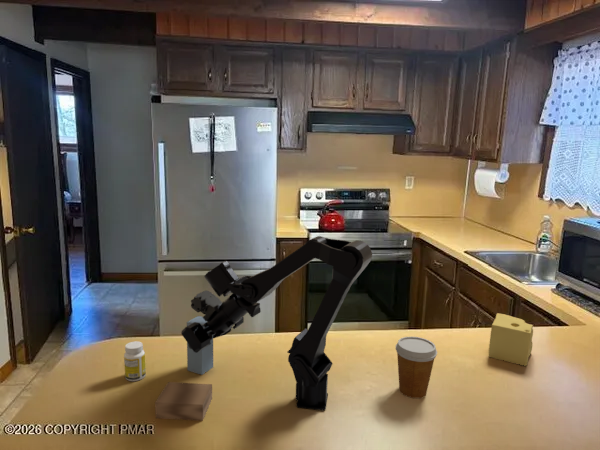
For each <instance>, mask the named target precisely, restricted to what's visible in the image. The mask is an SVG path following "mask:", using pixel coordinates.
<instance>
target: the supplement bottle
mask: <svg viewBox="0 0 600 450" xmlns="http://www.w3.org/2000/svg"><path fill="white" fill-rule="evenodd" d="M123 360H124V377H125V380H126V381H129V382H137V381H141V380H142V379H143V380H144V378H145V377H146V373H147V372H146V369H147V368H146V352H145V350H144V345H143V342H141V341H139V340H138V341H130V342H128V343H126V344H125V346H124V355H123Z"/></svg>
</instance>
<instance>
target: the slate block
mask: <svg viewBox="0 0 600 450" xmlns="http://www.w3.org/2000/svg"><path fill="white" fill-rule="evenodd" d="M203 317H204V316H200V315H198V316H196V317H194V318H191V319H190V320H188V321H186V327H187V326H189V325H190V324H192V323H194V322H197V323H200V324H201V326H202V327H203V328H205V327H204V325H203V324H204V323H206V322H207V321H205V320H204V319H203ZM206 328H207V327H206ZM210 332H211V331H210ZM210 332H208V334H209V333H210ZM210 343H211V344H210V345H208V346H207V347H205V348H204V349H202V350H201V351H199V352H197V353H196V352H194V351H193V350H192V349H190V348H189V347H188V345H189V344H188V343H187V342H186V353H187V354H186V355H187V356H186V359H187V360H186V362H187V363H186V365H187V372H191V373H195V374H198V375H202V376H203V375H204V374H205V372H206V373H207V372H208V371H210V370H211V369H213V368H214V338H213V336H212V340H210Z"/></svg>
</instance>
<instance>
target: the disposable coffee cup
mask: <svg viewBox="0 0 600 450" xmlns="http://www.w3.org/2000/svg"><path fill="white" fill-rule="evenodd" d="M395 351H396V353H397V354H396V355H397V370H398V372H397V373H398V385H399V386H398V387H399V388H398V390H399V392H400V394H402V395H403V396H404V397H407V398H412V399H421V398H424V397H426V395H427V392H428V388H429V383H430V380H431V379H430V378H431V376H432V370H433V366H434V361H435V359H436V357H437V355H438V350H437V348H436V344H435V343H434V342H432V341H430V340H429V339H427V338H425V337H424V338H423V337H419V336H403V337H400V338H399V339H398V341H397V342H396V344H395Z"/></svg>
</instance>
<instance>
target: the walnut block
mask: <svg viewBox="0 0 600 450" xmlns="http://www.w3.org/2000/svg"><path fill="white" fill-rule="evenodd" d="M211 400H212V401H213V384H212V383H197V382H196V383H194V382H177V381H176V382H175V381H169V382H167V383H166V385H165V386H164V388H163V389H162V391H161V392H160V394H159V396H158V397H157V399H156V400H155V402H154V403H155V404H154V405H155V407H154V408H155V419H165V420H169V419H170V420H180V419H182V421H183V419H184V421H197V422H198V421H199V420H200V421H201V422H202V421H204V420H203V419H205V417H206V414H207V413H206V412H208V410H209V408H210V406H209V405H211V402H212V401H211Z"/></svg>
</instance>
